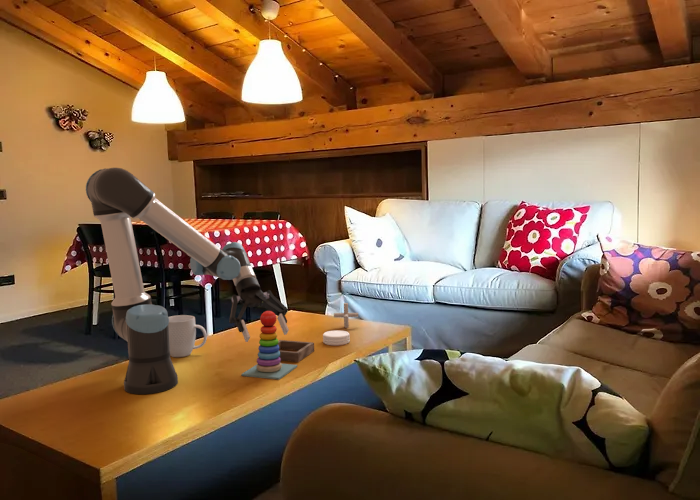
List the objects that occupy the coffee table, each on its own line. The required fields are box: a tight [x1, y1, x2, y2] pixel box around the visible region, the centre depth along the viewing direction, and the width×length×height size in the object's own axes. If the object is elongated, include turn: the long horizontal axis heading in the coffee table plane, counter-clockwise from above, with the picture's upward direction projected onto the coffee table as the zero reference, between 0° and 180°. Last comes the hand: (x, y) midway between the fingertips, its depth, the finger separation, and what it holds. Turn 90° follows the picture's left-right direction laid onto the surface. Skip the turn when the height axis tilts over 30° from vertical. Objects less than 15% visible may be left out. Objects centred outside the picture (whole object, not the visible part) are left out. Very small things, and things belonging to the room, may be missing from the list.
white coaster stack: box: [322, 329, 351, 346], centre depth 217 cm, size 10×10×4 cm
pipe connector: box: [333, 302, 359, 329], centre depth 238 cm, size 10×10×10 cm
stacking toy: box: [256, 310, 283, 372], centre depth 183 cm, size 8×8×19 cm
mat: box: [241, 362, 298, 380], centre depth 184 cm, size 13×13×1 cm
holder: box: [278, 339, 315, 363], centre depth 201 cm, size 13×13×3 cm
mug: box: [168, 314, 208, 358], centre depth 204 cm, size 15×11×13 cm
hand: (267, 336), depth 185 cm, fingers open, 13 cm apart
